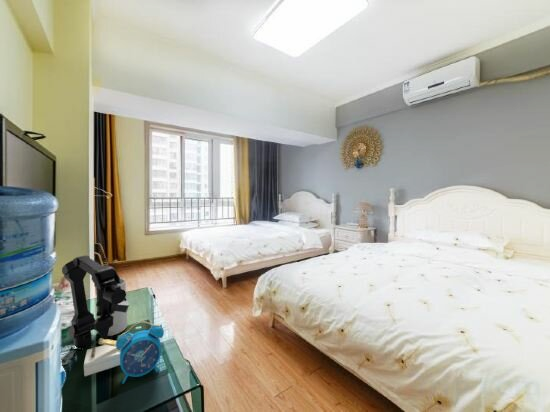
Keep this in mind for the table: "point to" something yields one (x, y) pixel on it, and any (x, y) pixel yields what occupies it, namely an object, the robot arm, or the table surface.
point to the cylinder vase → (118, 315)
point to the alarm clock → (140, 350)
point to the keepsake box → (101, 359)
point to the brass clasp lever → (107, 342)
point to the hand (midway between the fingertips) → (106, 333)
